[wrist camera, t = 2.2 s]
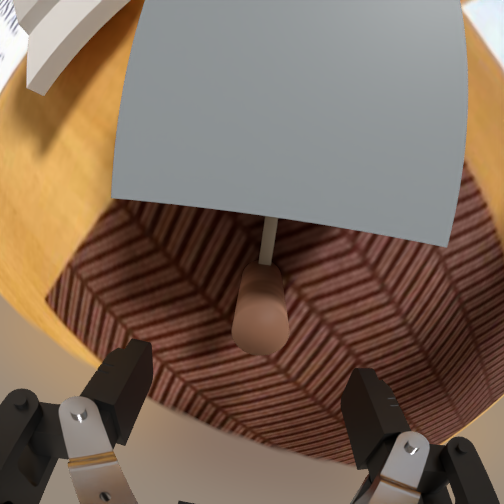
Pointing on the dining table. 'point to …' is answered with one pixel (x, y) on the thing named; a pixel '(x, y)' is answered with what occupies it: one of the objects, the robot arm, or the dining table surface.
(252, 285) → the brown square-headed paddle
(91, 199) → the dining table surface
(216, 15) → the block
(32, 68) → the white stepped sculpture
